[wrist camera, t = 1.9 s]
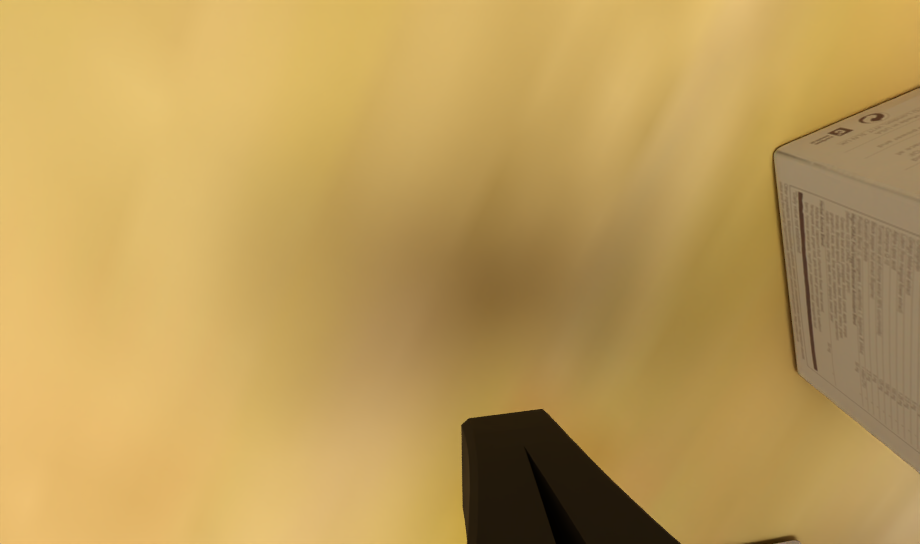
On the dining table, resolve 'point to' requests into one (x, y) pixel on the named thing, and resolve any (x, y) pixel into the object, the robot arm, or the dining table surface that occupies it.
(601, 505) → the robot arm
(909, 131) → the supplement box
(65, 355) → the dining table surface
